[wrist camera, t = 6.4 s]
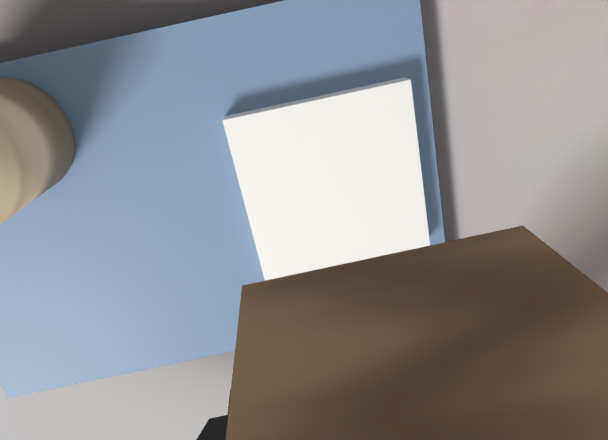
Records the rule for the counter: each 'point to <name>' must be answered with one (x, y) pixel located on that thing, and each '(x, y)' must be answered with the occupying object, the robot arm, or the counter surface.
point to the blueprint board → (213, 180)
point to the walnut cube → (426, 348)
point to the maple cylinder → (30, 144)
